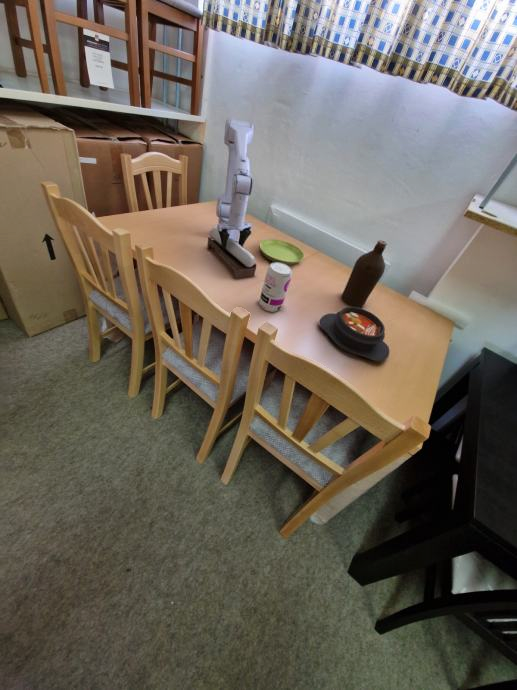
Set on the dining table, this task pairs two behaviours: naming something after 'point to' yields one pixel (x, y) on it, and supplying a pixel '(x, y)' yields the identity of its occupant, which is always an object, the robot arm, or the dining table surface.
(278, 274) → the supplement can
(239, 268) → the dark brown tray
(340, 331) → the casserole
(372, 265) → the olive oil
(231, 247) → the grey octagonal prism
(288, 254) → the saucer
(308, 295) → the dining table surface
